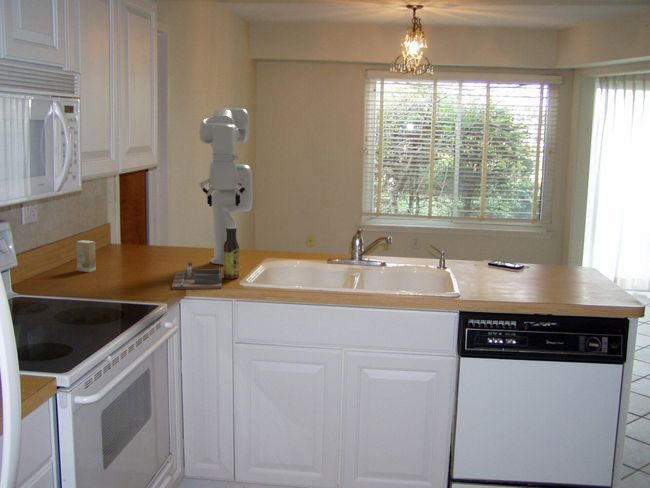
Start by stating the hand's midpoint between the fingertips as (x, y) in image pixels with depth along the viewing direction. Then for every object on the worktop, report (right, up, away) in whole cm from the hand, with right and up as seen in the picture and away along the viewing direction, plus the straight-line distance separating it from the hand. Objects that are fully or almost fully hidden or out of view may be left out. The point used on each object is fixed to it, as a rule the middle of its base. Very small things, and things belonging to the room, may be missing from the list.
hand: (223, 205), depth 250 cm
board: (-12, -28, +12) cm, 33 cm away
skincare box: (-60, -25, +28) cm, 71 cm away
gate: (-16, -26, +17) cm, 35 cm away
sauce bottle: (0, -27, +19) cm, 34 cm away
